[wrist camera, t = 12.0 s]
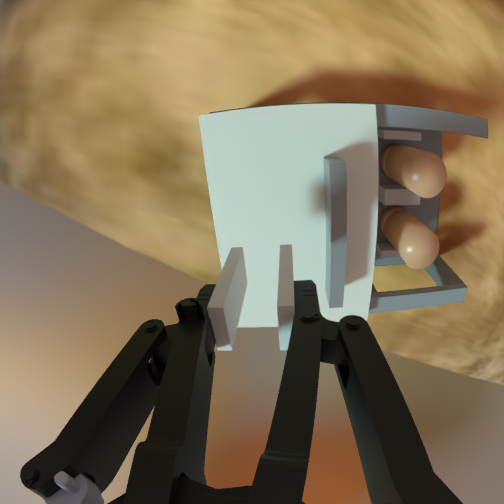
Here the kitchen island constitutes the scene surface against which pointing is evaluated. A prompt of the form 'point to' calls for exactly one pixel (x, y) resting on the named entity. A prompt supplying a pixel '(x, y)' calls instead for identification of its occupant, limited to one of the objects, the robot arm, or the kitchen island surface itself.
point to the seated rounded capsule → (409, 237)
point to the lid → (296, 200)
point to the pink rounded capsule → (414, 169)
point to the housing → (414, 198)
